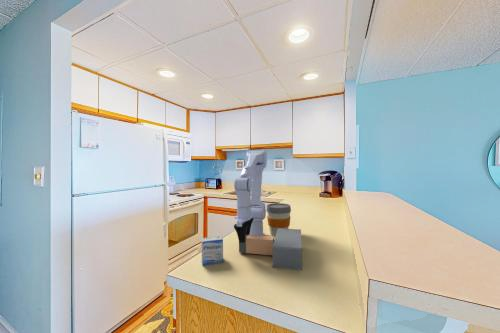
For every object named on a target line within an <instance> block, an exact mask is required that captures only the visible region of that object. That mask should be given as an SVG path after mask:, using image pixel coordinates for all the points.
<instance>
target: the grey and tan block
mask: <svg viewBox="0 0 500 333" xmlns="http://www.w3.org/2000/svg"><path fill="white" fill-rule="evenodd" d="M274 239H275V237H273V236H271V235H264V236H258V235H246V238H245V242H244V243H242V242H239V241H238V252H239V253H243V254H253V255H254V254H255V255H266V256H273V249H272V246H273V243H274Z"/></svg>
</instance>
